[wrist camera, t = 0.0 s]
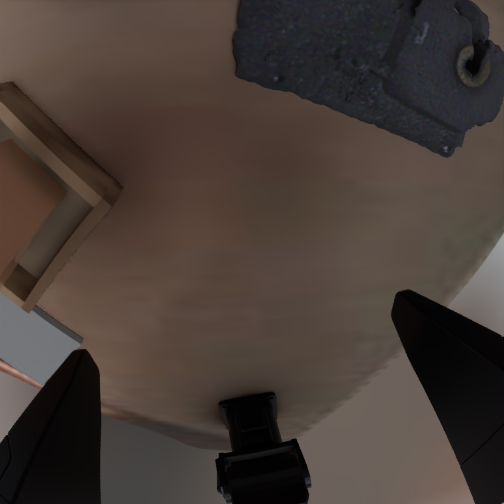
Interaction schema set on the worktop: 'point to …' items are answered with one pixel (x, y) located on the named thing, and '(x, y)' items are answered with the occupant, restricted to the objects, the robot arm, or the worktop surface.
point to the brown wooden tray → (71, 206)
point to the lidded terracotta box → (22, 204)
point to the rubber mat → (33, 340)
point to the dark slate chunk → (379, 62)
